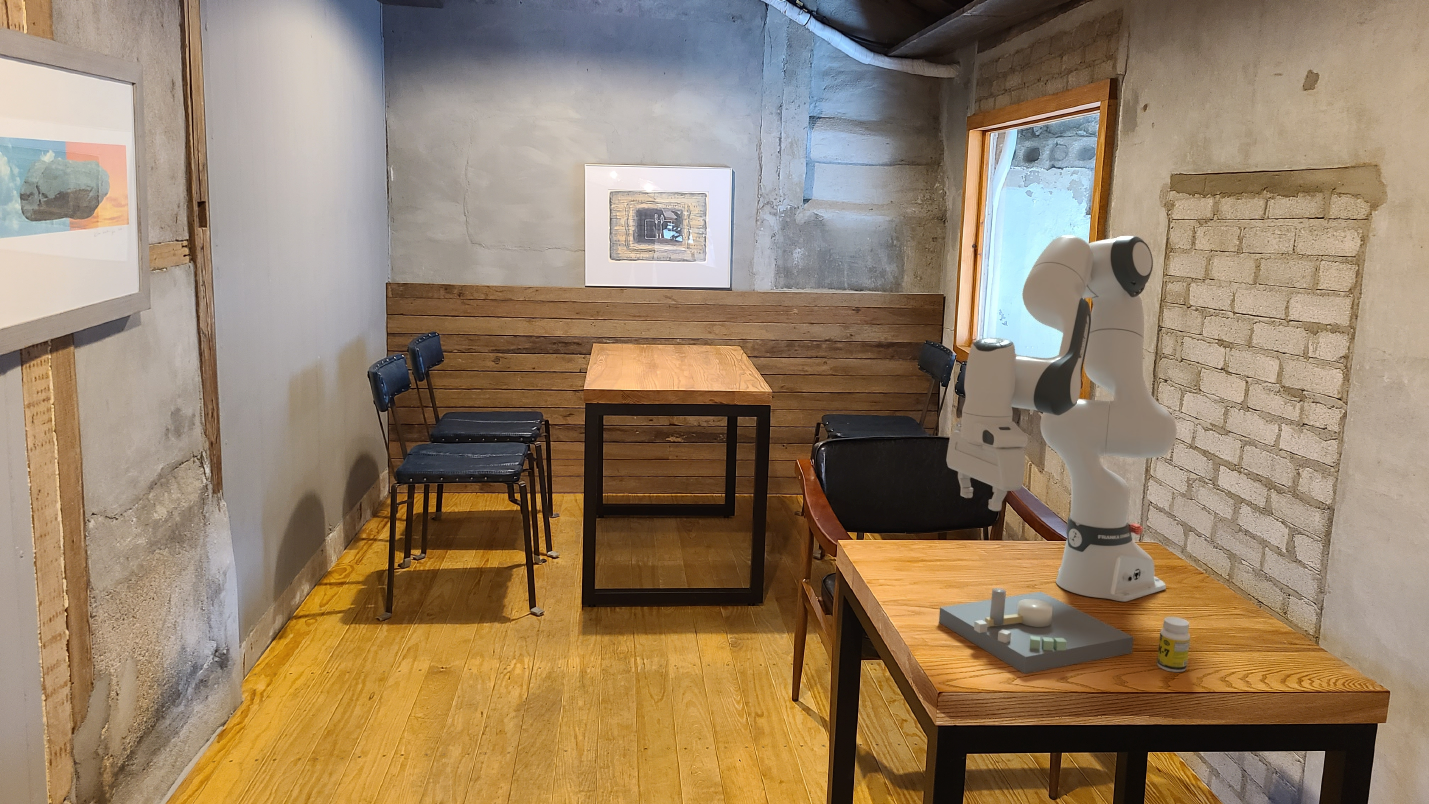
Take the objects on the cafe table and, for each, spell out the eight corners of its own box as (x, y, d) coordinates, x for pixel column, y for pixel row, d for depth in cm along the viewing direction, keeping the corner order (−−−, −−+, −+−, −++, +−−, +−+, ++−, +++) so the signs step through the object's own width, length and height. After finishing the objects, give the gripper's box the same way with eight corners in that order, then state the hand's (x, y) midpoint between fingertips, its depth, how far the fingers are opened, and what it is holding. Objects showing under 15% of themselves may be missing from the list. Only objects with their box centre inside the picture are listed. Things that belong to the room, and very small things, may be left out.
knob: (1038, 613, 202) (1040, 579, 201) (1058, 625, 197) (1061, 590, 196) (977, 620, 198) (979, 585, 197) (996, 632, 193) (999, 597, 191)
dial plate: (1039, 606, 215) (1041, 583, 214) (1133, 653, 193) (1135, 629, 192) (935, 623, 205) (937, 599, 204) (1021, 675, 183) (1023, 649, 182)
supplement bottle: (1151, 661, 190) (1156, 615, 189) (1177, 661, 191) (1182, 615, 189) (1165, 673, 186) (1170, 626, 184) (1191, 672, 186) (1197, 626, 184)
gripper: (941, 418, 206) (936, 490, 208) (1002, 440, 187) (995, 518, 189) (970, 418, 208) (965, 489, 210) (1033, 439, 189) (1027, 516, 191)
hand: (980, 503), depth 199 cm, fingers open, 8 cm apart
